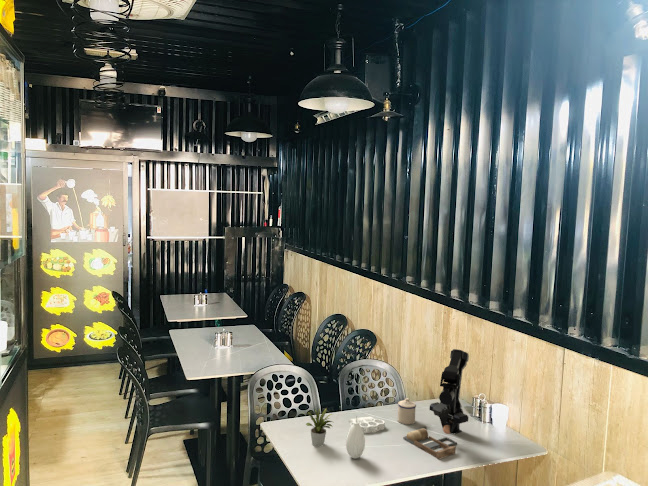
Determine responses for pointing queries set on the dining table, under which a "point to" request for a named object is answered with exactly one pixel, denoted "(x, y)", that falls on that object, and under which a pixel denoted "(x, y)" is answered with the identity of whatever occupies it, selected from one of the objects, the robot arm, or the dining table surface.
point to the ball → (446, 429)
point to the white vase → (355, 440)
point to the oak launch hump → (417, 435)
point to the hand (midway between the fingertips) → (447, 430)
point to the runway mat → (424, 443)
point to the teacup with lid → (406, 411)
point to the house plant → (318, 428)
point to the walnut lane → (441, 453)
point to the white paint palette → (369, 424)
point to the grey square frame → (448, 440)
